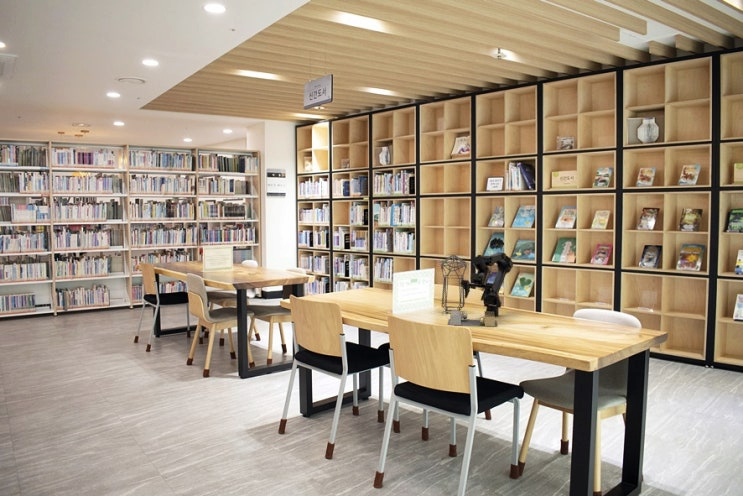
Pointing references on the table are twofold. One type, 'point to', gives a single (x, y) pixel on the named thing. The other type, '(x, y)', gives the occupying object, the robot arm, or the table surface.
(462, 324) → the jig board
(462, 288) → the geometric lantern
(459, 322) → the grey block with knob
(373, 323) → the table surface
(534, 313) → the table surface
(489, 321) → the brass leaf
